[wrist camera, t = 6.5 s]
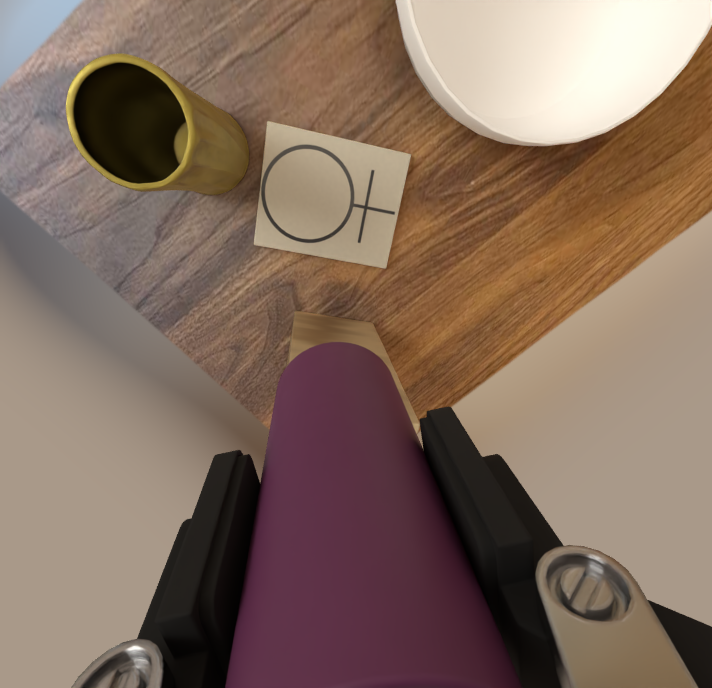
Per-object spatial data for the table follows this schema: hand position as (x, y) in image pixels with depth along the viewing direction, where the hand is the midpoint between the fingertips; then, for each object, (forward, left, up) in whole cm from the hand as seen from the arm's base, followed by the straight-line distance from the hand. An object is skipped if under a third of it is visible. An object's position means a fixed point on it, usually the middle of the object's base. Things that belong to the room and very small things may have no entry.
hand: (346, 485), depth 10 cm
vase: (-10, +7, -27) cm, 30 cm away
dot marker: (0, 0, -5) cm, 5 cm away
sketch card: (0, +6, -27) cm, 28 cm away
